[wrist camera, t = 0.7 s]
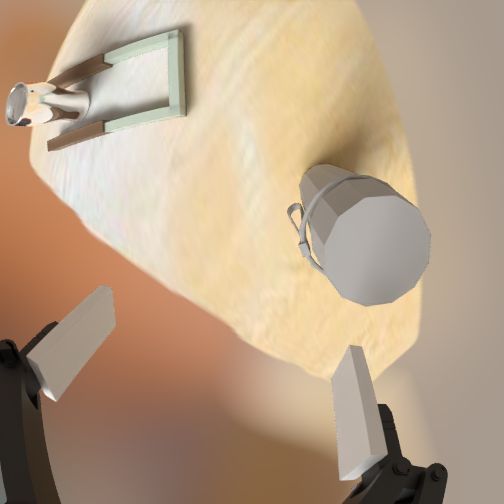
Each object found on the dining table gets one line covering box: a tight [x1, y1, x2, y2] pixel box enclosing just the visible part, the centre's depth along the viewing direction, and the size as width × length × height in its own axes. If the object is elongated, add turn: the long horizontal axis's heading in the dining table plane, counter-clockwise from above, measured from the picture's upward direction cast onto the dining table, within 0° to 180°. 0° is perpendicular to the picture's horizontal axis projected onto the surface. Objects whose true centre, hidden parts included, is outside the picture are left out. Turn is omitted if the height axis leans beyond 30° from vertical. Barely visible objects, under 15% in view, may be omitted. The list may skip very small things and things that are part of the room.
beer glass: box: [5, 82, 90, 126], centre depth 28 cm, size 7×7×15 cm
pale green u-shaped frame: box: [104, 29, 186, 132], centre depth 32 cm, size 14×13×2 cm
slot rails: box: [47, 54, 113, 151], centre depth 34 cm, size 14×14×3 cm
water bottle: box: [287, 164, 431, 306], centre depth 25 cm, size 9×8×25 cm
